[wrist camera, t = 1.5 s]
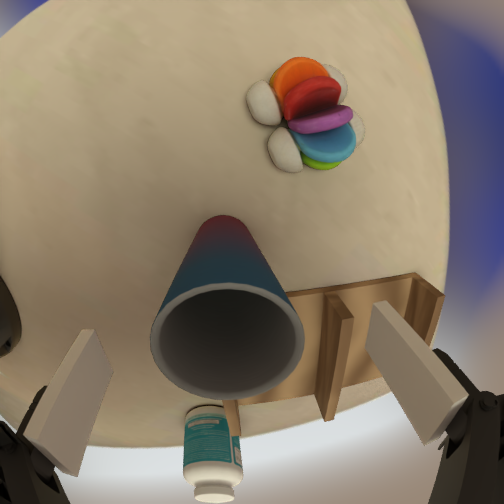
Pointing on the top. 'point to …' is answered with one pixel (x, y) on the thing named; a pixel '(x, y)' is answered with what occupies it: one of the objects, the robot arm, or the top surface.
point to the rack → (344, 338)
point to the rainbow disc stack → (307, 115)
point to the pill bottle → (211, 455)
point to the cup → (226, 318)
